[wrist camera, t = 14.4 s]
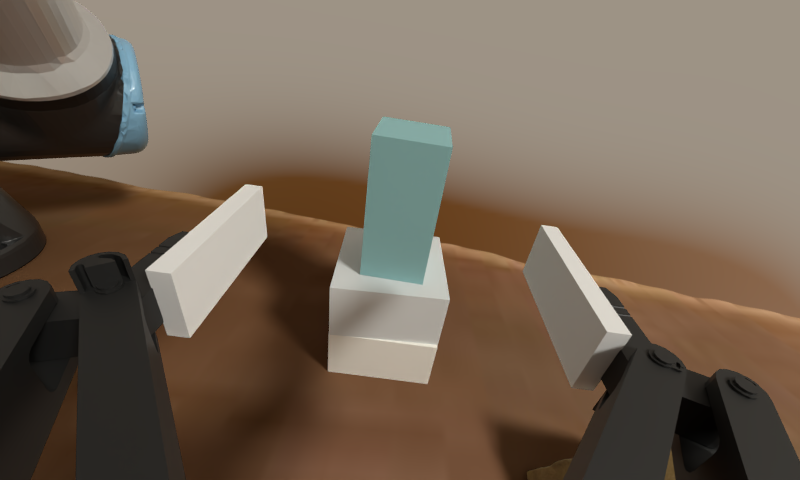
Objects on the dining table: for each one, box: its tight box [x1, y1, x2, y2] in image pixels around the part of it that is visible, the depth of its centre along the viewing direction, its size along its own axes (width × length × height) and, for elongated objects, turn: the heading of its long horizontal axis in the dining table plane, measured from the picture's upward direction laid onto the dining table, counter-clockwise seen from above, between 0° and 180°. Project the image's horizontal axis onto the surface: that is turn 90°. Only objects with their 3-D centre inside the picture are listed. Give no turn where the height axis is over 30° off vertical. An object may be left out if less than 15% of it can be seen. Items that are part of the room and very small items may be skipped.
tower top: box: [329, 227, 450, 345], centre depth 30 cm, size 9×9×5 cm
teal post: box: [360, 117, 453, 285], centre depth 26 cm, size 5×5×11 cm
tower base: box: [328, 334, 437, 384], centre depth 33 cm, size 9×9×5 cm
